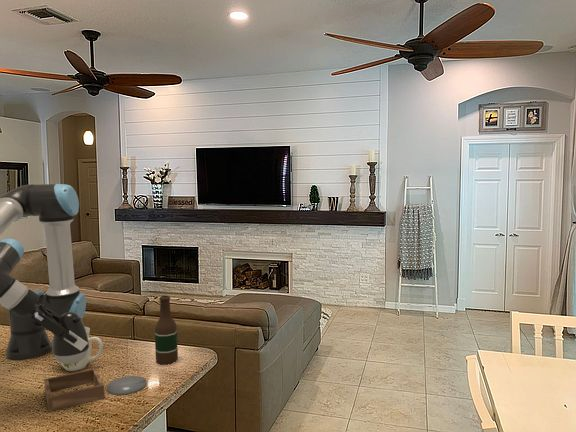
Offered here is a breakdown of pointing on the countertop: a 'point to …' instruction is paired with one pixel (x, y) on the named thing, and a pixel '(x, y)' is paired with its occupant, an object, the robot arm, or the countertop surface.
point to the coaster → (126, 385)
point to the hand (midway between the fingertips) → (81, 341)
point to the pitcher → (87, 358)
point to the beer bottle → (166, 335)
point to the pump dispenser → (64, 349)
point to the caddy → (73, 396)
